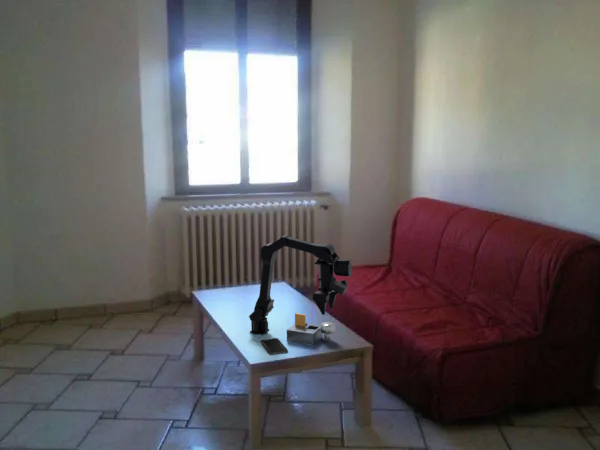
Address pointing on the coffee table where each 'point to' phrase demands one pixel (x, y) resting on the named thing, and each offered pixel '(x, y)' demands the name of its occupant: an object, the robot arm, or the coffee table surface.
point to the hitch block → (304, 334)
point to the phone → (273, 346)
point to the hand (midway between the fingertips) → (327, 311)
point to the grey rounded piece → (327, 330)
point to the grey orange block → (300, 319)
